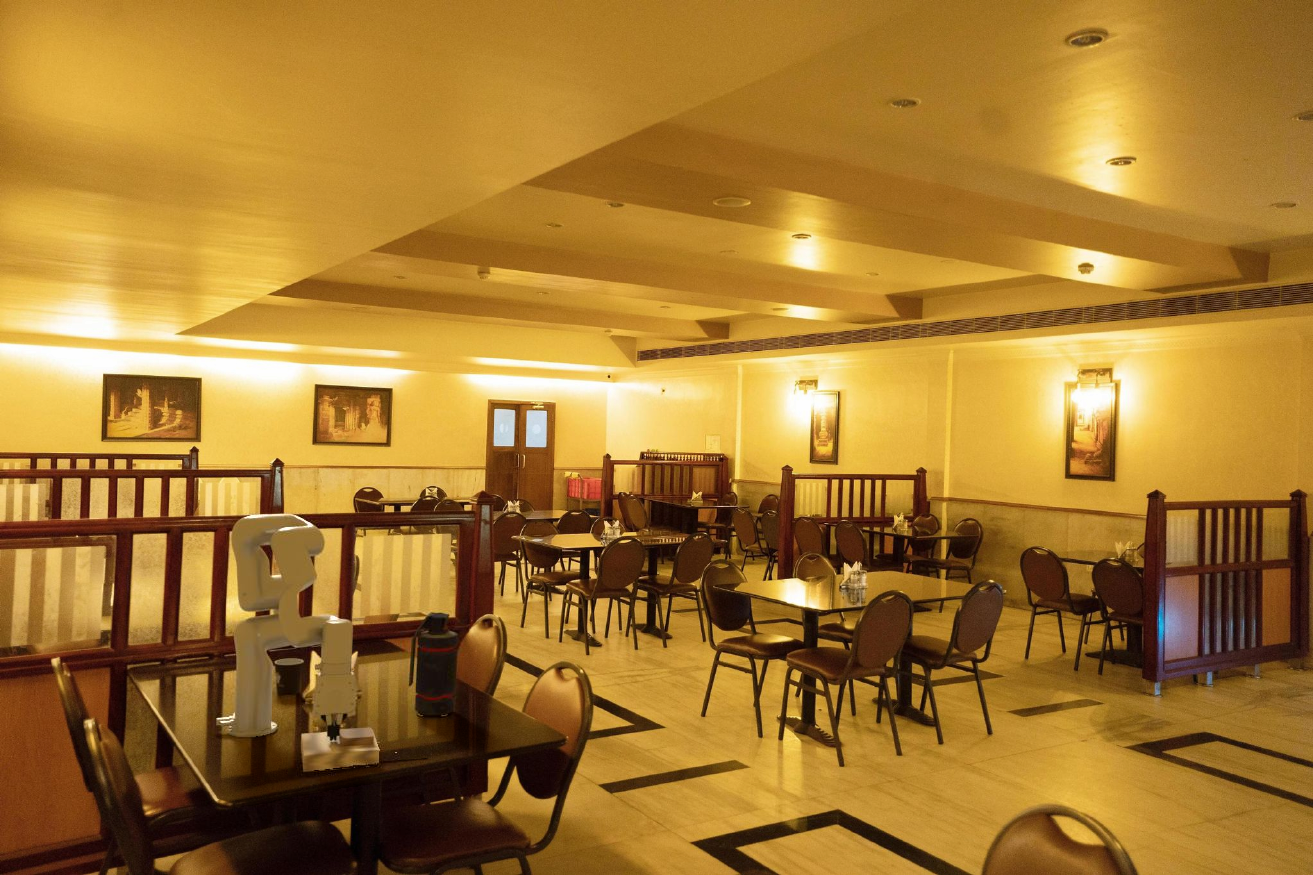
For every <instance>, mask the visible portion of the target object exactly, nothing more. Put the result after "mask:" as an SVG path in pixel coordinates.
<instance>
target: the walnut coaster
mask: <svg viewBox="0 0 1313 875" xmlns="http://www.w3.org/2000/svg"><path fill="white" fill-rule="evenodd" d="M372 730H373V728H372V727H357V728H355V727H354V728H340V734H339V740H340V745H341V746H355V745H369V744H373V739H374V736H373V733H372Z"/></svg>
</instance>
